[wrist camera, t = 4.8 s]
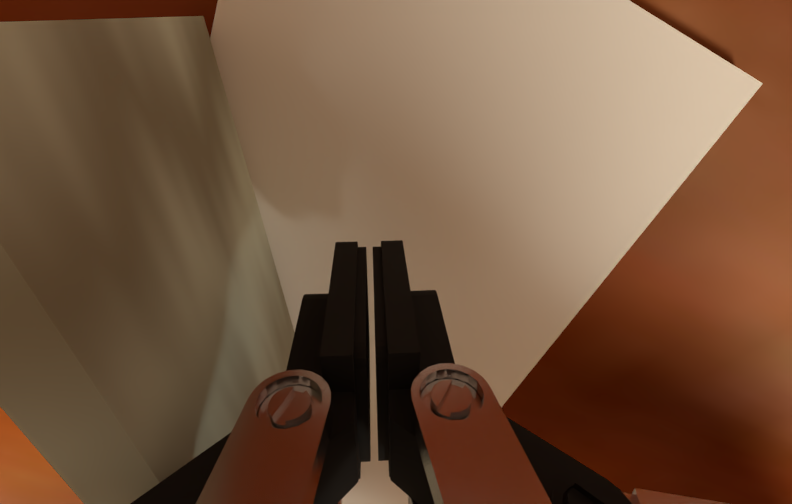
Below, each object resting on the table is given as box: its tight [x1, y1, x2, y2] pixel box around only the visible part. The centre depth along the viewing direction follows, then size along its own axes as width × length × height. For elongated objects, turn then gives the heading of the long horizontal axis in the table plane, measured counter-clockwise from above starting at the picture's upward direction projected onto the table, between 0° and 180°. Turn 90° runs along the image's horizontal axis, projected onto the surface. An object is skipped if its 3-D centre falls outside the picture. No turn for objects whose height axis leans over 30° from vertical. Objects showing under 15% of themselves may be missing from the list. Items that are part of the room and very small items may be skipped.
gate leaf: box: [0, 16, 295, 504], centre depth 11 cm, size 18×2×8 cm, turn 5°
